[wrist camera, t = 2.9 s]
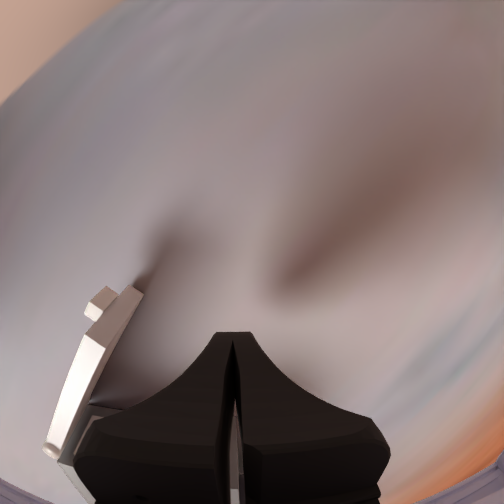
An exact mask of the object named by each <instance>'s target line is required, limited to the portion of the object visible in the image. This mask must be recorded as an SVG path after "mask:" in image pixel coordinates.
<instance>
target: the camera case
mask: <svg viewBox="0 0 504 504" xmlns="http://www.w3.org/2000/svg"><path fill="white" fill-rule="evenodd" d="M121 411H124V410H118V409H111V408H105V407H99V406H93V405H87V407H86V408H85V410H84V412H83V414H82V416H81V417H80V419H79V421H78V423H77V425H76V427H75V429H74V430H73V432H72V434H71V436H70V438H69V440H68V442H67V444H66V446H65V448H64V450H63V452H62V454H61V455H60V457H59V459H58V461H57V463H58V464H59V466H60V467H61V469H62V470H63V472H64V473H65V474H66V476H67V477H68V478H69V480H70V481H71V483H72V484H73V485H74V486H75V488H76V489H77V490H78V492H79V493H80V494H81V495H82V497H83V498H84V499H85V500H86V501H87V503H88V504H95V501H96V500H95V499H94V497H93V496H92V495H91V494H90V492H89V491H88V490H87V488H86V487H85V486H84V484H83V483H82V482H81V480H80V479H79V477H78V476H77V474H76V472H75V470H74V468H73V458H74V456H75V454H76V452H77V450H78V447H79V445H80V443H81V441H82V439H83V437H84V435H85V433H86V431H87V430H88V428H89V427H90V425H91V424H92V422H93V421H94V420H97V419H101V418H104V417H107V416H110V415H113V414H116V413H119V412H121ZM230 490H231V504H245V491H244V475H239V464H238V446H237V427H236V417H233V423H232V432H231V442H230Z"/></svg>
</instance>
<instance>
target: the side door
mask: <svg viewBox="0 0 504 504" xmlns="http://www.w3.org/2000/svg"><path fill="white" fill-rule="evenodd" d="M118 295H119V294H117V293H116V292H114V291H113V290H111V289H110V288H109V287H107V286H106V287H105V288H103V289H102V290H101V291H100V292H99V293H98V294H97V295H96V296H95V297H94V298H93V299H92V300H90V301H89V303H88V306H87V308H86V310H85V313H84V314H85V315H86V316H88V317H89V318H90V319H92V320H93V321H95V323H94V324H93V325H92V326H91V328H90V329H89V330H88V331H87V332H86V333H85V335H84V337H83V339H82V342H81V344H80V346H79V349H78V351H77V354H76V356H75V359H74V361H73V364H72V366H71V369H70V371H69V374H68V377H67V379H66V382H65V385H64V388H63V390H62V393H61V396H60V399H59V402H58V405H57V408H56V411H55V414H54V417H53V420H52V423H51V427H50V430H49V433H48V437H47V439H46V440H45V442H44V444H43V446H42V449H43V451H44V452H45V453H46V454H47V455H49V456H50V457H52V458H54V459H59V457H60V455H61V454H62V452H63V450H64V448H65V446H66V444H67V442H68V440H69V438H70V436H71V434H72V432H73V430H74V429H75V427H76V425H77V423H78V421H79V419H80V417H81V416H82V414H83V412H84V410H85V408H86V407H87V405H88V403H89V401H90V399H91V396H90V395H91V393H92V391H93V389H94V387H95V385H96V383H97V381H98V379H99V377H100V375H101V373H102V371H103V369H104V367H105V365H106V363H107V361H108V359H109V357H110V356H111V354H112V352H113V350H114V348H115V346H116V344H117V342H118V340H119V339H120V337H121V335H122V333H123V331H124V329H125V328H126V326H127V324H128V322H129V320H130V319H131V317H132V315H133V313H134V311H135V310H136V308H137V306H138V304H139V303H140V301H141V299H142V297H143V296H144V294H142V293H141V292H139V291H138V290H136V289H135V288H133V287H132V286H130V285H128V286H127V288H126V289H125V290H124V291H123V292H122V293H121V294H120V295H119V296H118Z"/></svg>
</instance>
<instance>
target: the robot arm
mask: <svg viewBox="0 0 504 504" xmlns="http://www.w3.org/2000/svg"><path fill="white" fill-rule="evenodd" d="M235 401H236V408H237V415H238V422H239V429H240V435H241V442H242V451H243V470H244V491H245V504H380V503H379V500H378V498H379V497H380V496H381V492H380V490H379V487H378V485H377V482H378V480H379V479H380V477H381V475H382V473H383V471H384V470H385V468H386V466H387V464H388V462H389V459H390V456H391V453H390V447H389V446H388V444H387V442H386V440H385V438H384V436H383V435H382V433H381V431H380V430H379V429H378V427H377V426H376V425H375V423H374V422H373V420H372V419H371V418H368V417H365V416H362V415H358V414H355V413H352V412H349V411H346V410H343V409H341V408H338V407H336V406H334V405H331V404H329V403H327V402H325V401H323V400H321V399H319V398H317V397H315V396H314V395H312V394H310V393H309V392H307V391H305V390H304V389H302V388H301V387H299V386H298V385H297V384H295V383H294V382H293V381H291V380H290V379H289V378H288V377H287V376H286V375H285V374H283V373H282V372H281V371H280V370H279V369H278V368H277V367H276V366H275V364H274V363H273V362H272V361H271V360H270V359H269V357H268V356H267V355H266V354H265V353H264V351H263V350H262V349H261V347H260V346H259V344H258V343H257V341H256V340H255V338H254V336H253V334H252V333H251V332H216V333H215V334H214V335H213V337H212V339H211V340H210V342H209V343H208V345H207V346H206V347H205V349H204V350H203V351H202V353H201V354H200V355H199V356H198V358H197V359H196V360H195V361H194V362H193V363H192V364H191V365H190V366H189V368H188V369H187V370H186V371H185V372H184V373H183V374H182V375H181V376H179V377H178V378H177V379H176V380H175V381H174V382H172V383H171V384H170V385H169V386H167V387H166V388H164V389H163V390H161V391H160V392H158V393H157V394H155V395H154V396H152V397H150V398H149V399H147V400H145V401H143V402H141V403H139V404H137V405H135V406H133V407H131V408H129V409H126V410H124V411H121V412H119V413H116V414H113V415H110V416H107V417H104V418H101V419H97V420H94V421H93V422H92V424H91V425H90V427H89V428H88V430H87V431H86V433H85V435H84V437H83V439H82V441H81V443H80V445H79V447H78V450H77V452H76V454H75V456H74V458H73V468H74V470H75V472H76V474H77V476H78V477H79V479H80V480H81V482H82V483H83V484H84V486H85V487H86V488H87V490H88V491H89V492H90V494H91V495H92V496H93V497H94V499H95V500H96V501H95V504H231V490H230V442H231V432H232V423H233V413H234V404H235ZM0 504H54V503H51V502H49V501H47V500H44V499H42V498H39V497H37V496H35V495H33V494H31V493H28V492H26V491H24V490H22V489H20V488H18V487H16V486H14V485H12V484H10V483H8V482H6V481H5V480H3V479H1V478H0ZM413 504H504V450H503V451H502V453H501V454H500V455H499V457H498V458H497V460H496V462H495V463H493V464H492V465H490V466H488V467H487V468H485V469H483V470H482V471H480V472H478V473H476V474H475V475H473V476H471V477H469V478H467V479H466V480H464V481H462V482H460V483H458V484H456V485H454V486H452V487H450V488H448V489H446V490H444V491H441V492H439V493H437V494H435V495H433V496H430V497H428V498H426V499H423V500H421V501H418V502H416V503H413Z"/></svg>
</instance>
